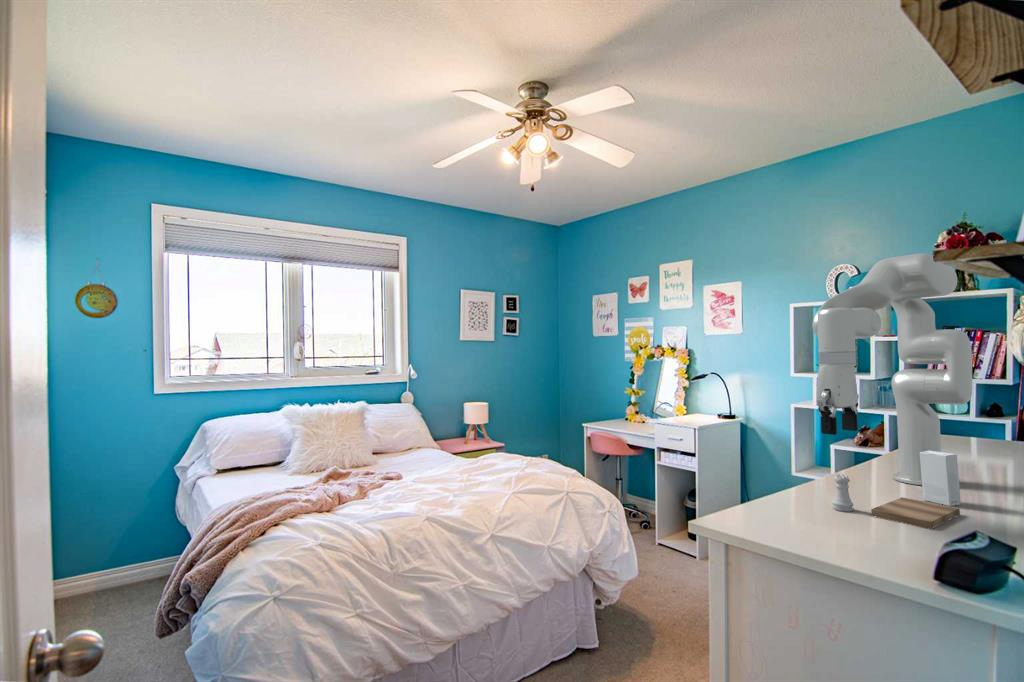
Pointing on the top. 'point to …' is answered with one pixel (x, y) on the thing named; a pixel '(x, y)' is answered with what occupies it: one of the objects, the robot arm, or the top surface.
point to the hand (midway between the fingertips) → (839, 432)
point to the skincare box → (940, 478)
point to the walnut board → (915, 512)
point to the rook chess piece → (842, 494)
